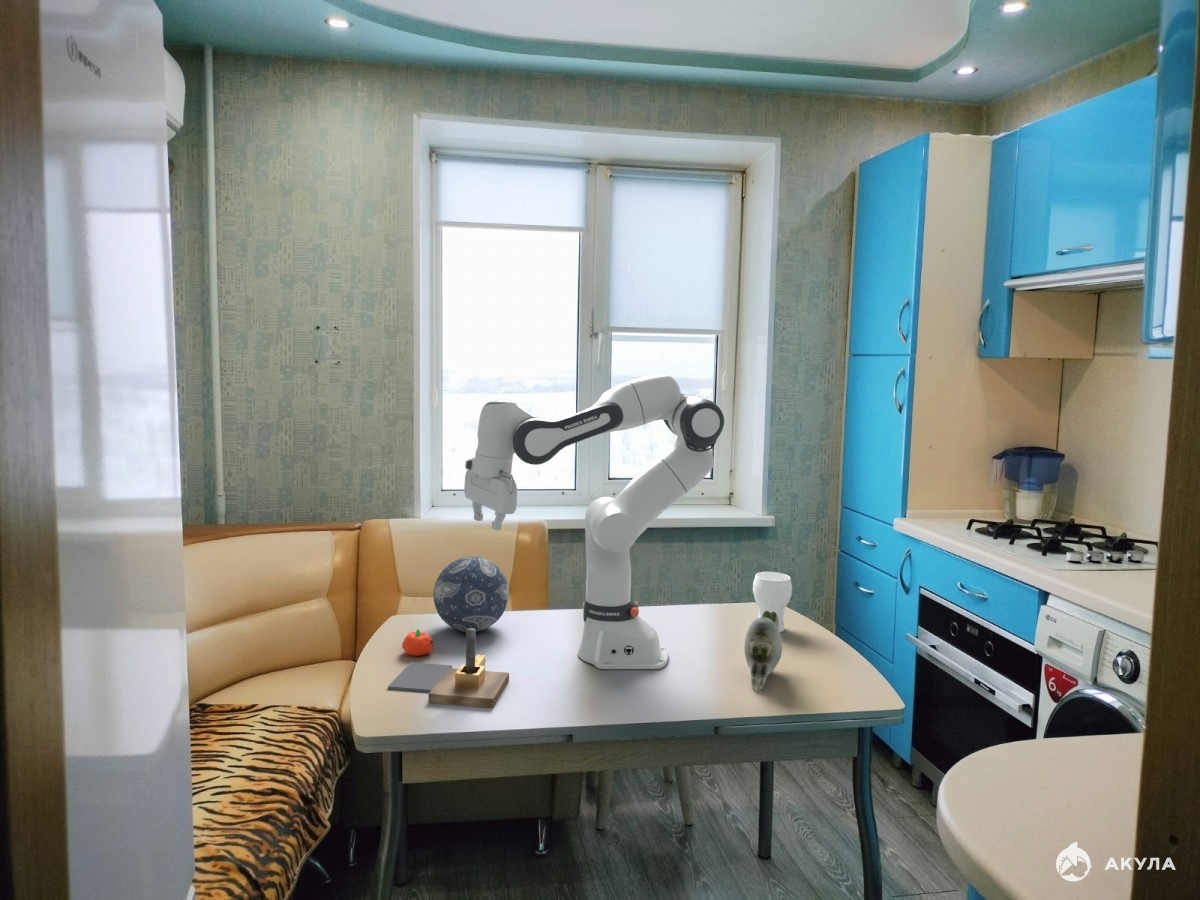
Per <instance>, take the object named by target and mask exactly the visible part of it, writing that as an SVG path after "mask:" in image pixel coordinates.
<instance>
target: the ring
mask: <svg viewBox="0 0 1200 900" xmlns="http://www.w3.org/2000/svg"><path fill="white" fill-rule="evenodd" d="M457 669H458V671H457V672H456V673H455V687H465V688H477V689H479V687H480V686H481V684H482V683H483V681H484V680H485V671H486V655H485V654H483V655H482V654H475V673H466V663H465V664H464V663H463V664H461V665H460V666H459V668H457Z"/></svg>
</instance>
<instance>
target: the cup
mask: <svg viewBox="0 0 1200 900" xmlns="http://www.w3.org/2000/svg"><path fill="white" fill-rule="evenodd" d="M752 593H753V596H754V600H755V602H756V605H757V611H758V616H757V618H759V617H761V616H762V614H763V613H764V612H765V611H769V612H770V613H771V612H773V611H774V612H775V613H776V614H777V617H778V624H779V625H778V630H779V633H782V632H784V631H785V622H784V614H785V609H786V607H787V605H788V604H789V603H790V600H791V597H792V595H793V594H792V593H793V585H792V579H791V576H790V575H787V574H786V573H783V572H782V573H781V572H776V571H762V572H757V573H756V574H755V576H754V579H753V581H752Z"/></svg>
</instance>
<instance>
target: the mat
mask: <svg viewBox="0 0 1200 900" xmlns="http://www.w3.org/2000/svg"><path fill="white" fill-rule="evenodd" d="M449 668H453V665H449V664H439V663H437V664H436V663H428V662H427V663H426V662H425V663H424V662H412V661H411V662H410V663H408V665H406V667H405V668H404V669H403V670H402V671H401V672H400V673H399V674H398V675H397V676H396V677H395V678H394V679H393V680H392V681H391V682H390V683H389V684H388V686H387V690H396V691H409V692H419V693H420V692H423V693H429V692H430V691H431V690H432V689H433V688H434V686H435V685H436V684H437V683H438V681H439V680H440V679H441V678H442V677H443V675H444V674H445V673H446V672H447V670H448V669H449Z"/></svg>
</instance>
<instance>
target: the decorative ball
mask: <svg viewBox="0 0 1200 900" xmlns="http://www.w3.org/2000/svg"><path fill="white" fill-rule="evenodd" d="M509 589H510V587H509V583H508V580H507V578H506V576H505V574H504V573H503V572H502V570H501V569H500V567H498V565H496V564H495V563H494V562H492V561H490V560H488V559H486V558H484V557H480V556H465V557H464V556H463V557H460V558H458V559H456V560H454V561H452V562H450V563H449V564H448V565H447V566H445V567H444V569H443V570H442V571H441V572H440V574H439V575H438V577H437V579H436V581H435V583H434V587H433V603H434V607H435V609H436V611H437V615H439V617H440V619H441V621H443V622H444V623H445V625H448V626H449V627H450V628H452V629H453V630H456V631H459V632H463V633H464V632H465V633H466V629H469V628H474V629H475V630H476V631H475V633H476V632H481V631H484V630H486V629H489V628H490V627H491V626H493V625H494V624H496V623H497V622H498V621H499V620H500V619H501V617H502V616H503V614H504V612H505V611H506V608H507V605H508V602H509V595H510V591H509Z"/></svg>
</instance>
